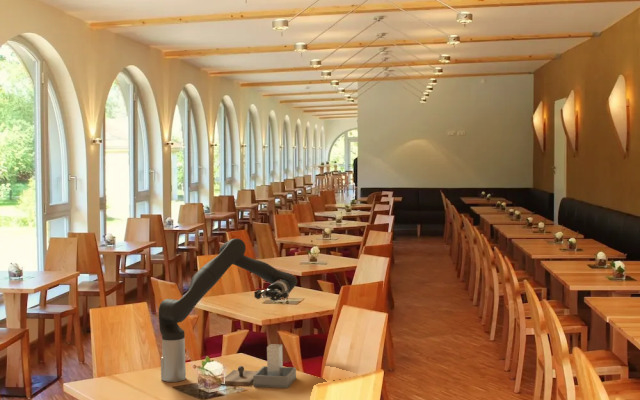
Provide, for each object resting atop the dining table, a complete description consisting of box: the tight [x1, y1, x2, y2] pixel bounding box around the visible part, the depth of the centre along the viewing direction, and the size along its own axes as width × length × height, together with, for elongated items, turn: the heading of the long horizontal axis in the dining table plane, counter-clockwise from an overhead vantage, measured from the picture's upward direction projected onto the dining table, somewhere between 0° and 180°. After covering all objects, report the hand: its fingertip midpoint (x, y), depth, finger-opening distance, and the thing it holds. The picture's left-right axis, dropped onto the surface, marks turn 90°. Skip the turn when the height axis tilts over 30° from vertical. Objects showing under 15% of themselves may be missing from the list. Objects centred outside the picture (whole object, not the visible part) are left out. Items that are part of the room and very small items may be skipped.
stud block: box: [224, 365, 259, 387], centre depth 316 cm, size 12×16×6 cm
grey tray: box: [252, 366, 297, 389], centre depth 310 cm, size 14×14×4 cm
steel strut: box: [266, 343, 284, 376], centre depth 310 cm, size 5×5×14 cm
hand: (267, 297), depth 325 cm, fingers open, 8 cm apart
